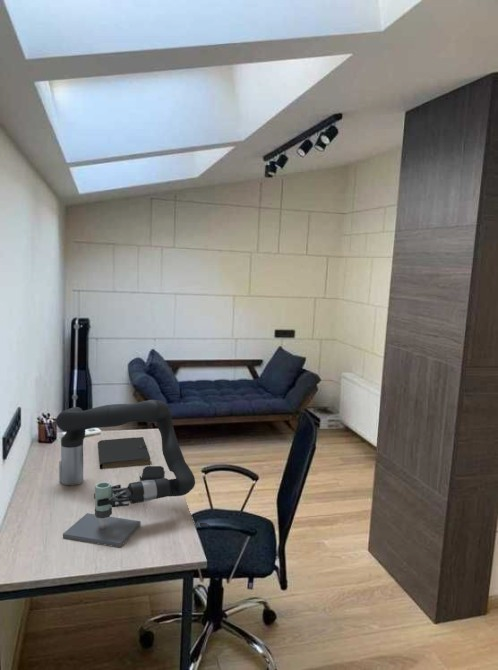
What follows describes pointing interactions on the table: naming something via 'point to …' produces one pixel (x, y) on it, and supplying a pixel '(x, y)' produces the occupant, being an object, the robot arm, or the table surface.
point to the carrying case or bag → (152, 473)
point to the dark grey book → (123, 452)
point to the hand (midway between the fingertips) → (95, 499)
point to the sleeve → (101, 493)
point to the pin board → (102, 530)
